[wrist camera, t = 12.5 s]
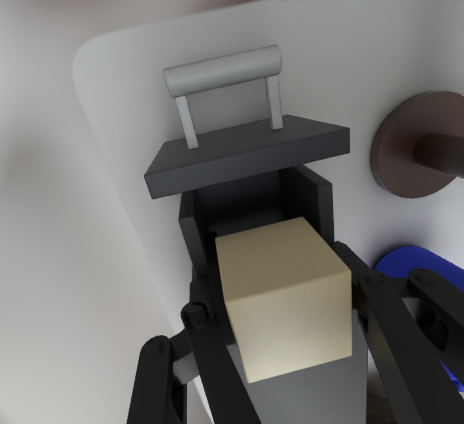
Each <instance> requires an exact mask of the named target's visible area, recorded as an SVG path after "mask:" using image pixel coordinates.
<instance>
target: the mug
mask: <svg viewBox="0 0 464 424" xmlns="http://www.w3.org/2000/svg"><path fill="white" fill-rule="evenodd" d="M416 268H424V269H429V270H432V271H434V272H436V273H438V274H440V275H441V276H442V277H444V278H445V279H446V280H448V281H449V282H450V283H452V284H453V285H454V286H456V287H457V288H458V289H460V290H461V291H462V292H464V270H463V269H461V268H460V267H458V266H456V265H454V264H452V263H451V262H449V261H447V260H445V259H443V258H441V257H440V256H438V255H436V254H434V253H432V252H431V251H429V250H426V249H424V248H420V247H416V246H405V247H401V248H398V249H395V250H393V251H391V252H390V253H388V254H387V255H385V256H384V257H383V258H382V259H381V260H380V261H379V263H378V264H377V266H376V268H375V270H377V271H381V272H383V273H384V274H386V275H387V276H388V277H392V278H402V277H407V274H408V272H409V271H410V270H412V269H416ZM440 362H441V361H440ZM441 363H442V362H441ZM442 365H443V367H444V368H445V370H446V372H447V373H448V375H449V376H450V378H451V380H452V381H453V383H454V385H455V386H456V388H457V389H458V391H459V392H464V386H463V385H462V384H461V383H460V382H459V381H458V380H457V378H456V377H455V376H454V375H453V374H452V373H451V372H450V371H449V370H448V369H447V367H446V366H445V365H444V364H443V363H442Z"/></svg>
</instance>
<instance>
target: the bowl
mask: <svg viewBox="0 0 464 424" xmlns="http://www.w3.org/2000/svg"><path fill="white" fill-rule="evenodd" d="M366 424H398V423H397V421H396V418H395V415H394V413H393V410H392V408H391V405H390V402H389V400H388V399H386V398H381V397H374V396H371V397H367V399H366Z"/></svg>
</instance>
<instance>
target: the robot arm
mask: <svg viewBox="0 0 464 424" xmlns="http://www.w3.org/2000/svg"><path fill="white" fill-rule="evenodd" d="M299 217H303V218H304V219H305V217H304V216H303V215H302V214H301V213H300V212H299V211H297V212H293V213H289V214H288V219H289V220H291V219H295V218H299ZM305 220H306V219H305ZM306 221H307V220H306ZM307 222H308V221H307ZM308 223H309V222H308ZM309 224H310V223H309ZM310 225H311V224H310ZM311 226H312V225H311ZM312 228H313V226H312ZM313 229H314V228H313ZM314 230H315V229H314ZM315 231H316V230H315ZM316 232H317V231H316ZM317 233H318V232H317ZM318 234H319V233H318ZM319 235H320V234H319ZM205 236H206V249H207V261H208V263H207V264H208V274H206V275H202V276H198V277H194V278H193V280H192V281H191V283H190V301H189V303H187V304H186V305H185V306H184V307H183V308H182V311H181V319H182V321H183V324H184V326H185V328H184V329H183V330H182V331H181V332H180V333H178V334H177V335H175V336H173V337H172V338H170V339H168V337H166V336H163V335H160V336H155V337H153V338H151V339H150V340H148V341H147V342H146V343H145V344H144V346H143V347H142V349H141V352H140V356H139V361H138V366H137V371H136V376H135V382H134V387H133V392H132V397H131V403H130V408H129V413H128V419H127V424H187V382H189V381H190V380H192V379H194V378H195V377H197V376H198V375H200V378H201V381H202V384H203V387H204V391H205V394H206V397H207V400H208V404H209V407H210V410H211V413H212V417H213V420H214V423H215V424H262V423H261V421H260V418H259V416H258V414H257V412H256V410H255V408H254V405H253V403H252V401H251V399H250V397H249V394H248V392H247V390H246V388H245V386H244V384H243V381H242V379H241V377H240V375H239V373H238V370H237V368H236V366H235V364H234V362H233V360H232V357H231V355H230V353H229V351H228V349H227V346H230V345H234V344H236V341H235V338H234V334H233V330H232V327H231V323H230V320H229V316H228V313H227V309H226V306H225V301H224V295H223V288H222V282H221V275H220V268H219V262H218V255H217V249H216V242H215V238H217V233H216V231H215V232H211V233H207V234H205ZM320 237H321V238H322V239H323V240H324V241H325V239H324V238H323V237H322V236H321V235H320ZM325 242H326V241H325ZM326 243H327V242H326ZM327 244H328V243H327ZM328 245H329V247H330V248H331V249H332V250H333V251H334V252H335V253H336V254H337V255H338V257H339V258H340V259H341V260H342V261H343V262H344V263H345V264H346V266H347V267H348V268H349V269H350V270H351V288H352V305H353V307H354V308H355V309H356V310H357V327H358V331H360V326H361V329H362V331H363V334H364V337H365V339H366V342H367V345H368V347H369V350H370V352H371V355H372V358H373V360H374V363H375V366H376V368H377V371H378V373H379V376H380V379H381V381H382V384H383V387H384V389H385V392H386V394H387V397H388V400H389V402H390V405H391V408H392V410H393V413H394V415H395V418H396V421H397V423H398V424H464V399H463V398H462V396H461V394H460V393H459V391H458V389H457V388H456V386H455V385H454V383H453V381H452V380H451V378H450V376H449V375H448V373H447V372H446V370H445V368H444V367H443V365H442V363H443V364H444V365H445V366H446V367H447V369H448V370H449V371H450V372H451V373H452V374H453V375H454V376H455V377H456V378H457V380H458V381H459V382H460V383H461V384H462V385H463V386H464V292H462V291H461V290H460V289H458V288H457V287H456V286H454V285H453V284H452V283H450V282H449V281H448V280H446V279H445V278H444V277H442V276H441V275H440V274H438V273H436V272H434V271H432V270H429V269H424V268H416V269H412V270H410V271H409V272H408V274H407V277H402V278H392V277H388V276H387V275H386V274H384V273H383V272H381V271H377V270H371V269H370V268H369V267H368V266H367V265H366V264H365V263H364V262H363V261H362V260H361V259H360V258H359V257H358V256H357V255H355V253H354V252H353V251H351V249H350V248H349V247H348V246H347V245H346V244H343V243H341V242H339V241H336V242H333V243H329V244H328ZM440 361H441V362H442V363H441V362H440Z"/></svg>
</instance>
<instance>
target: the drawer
mask: <svg viewBox="0 0 464 424" xmlns="http://www.w3.org/2000/svg"><path fill="white" fill-rule="evenodd" d="M281 67H282V59H281V53H280V49H279V47H278V46H277V45H271V46H267V47H262V48H258V49H253V50H248V51H244V52H239V53H235V54H230V55H226V56H221V57H216V58H212V59H207V60H203V61H198V62H194V63H189V64H185V65H180V66H175V67H171V68H166V69H164V77H165V81H166V84H167V88H168V91H169V94H170V96H171V98H175V97H176V98H175V101H176V104H177V108H178V112H179V115H180V119H181V123H182V126H183V130H184V134H185V137H186V138H183V139H178V140H174V141H169V142H165V143H164V144H163V146H162V147H161V149H160V151H159V152H158V154H157V155H156V157H155V159H154V160H153V162H152V164H151V165H150V167H149V168H148V170H147V172H146V173H145V175H144V178H145V181H146V184H147V186H148V189H149V192H150V195H151V198H152V199H157V198H161V197H166V196H170V195H174V194H178V193H182V195H181V203H180V211H179V219H178V221H179V224H180V227H181V230H182V233H183V237H184V240H185V243H186V246H187V249H188V252H189V255H190V258H191V261H192V264H193V267H194V270H195V273H196V276H197V277H198V276H202V275H206V274H208V264H207V263H208V261H207V249H206V236H205V234H207V233H211V232H215V231H216V233H217V237H222V236H226V235H230V234H234V233H238V232H242V231H246V230H250V229H254V228H258V227H262V226H266V225H270V224H274V223H279V222H283V221H287V220H289V219H288V214H289V213H293V212H297V211H299V212H300V213H301V214H302V215H303V216H304V217H305V219H306V220H307V221H308V222H309V223H310V224H311V225H312V226H313V228H314V229H315V230H316V231H317V232H318V233H319V234H320V235H321V236H322V237H323V238H324V239H325V241H326V242H327V243H328V244H329V243H333V242H334V218H333V193H332V183H331V182H329V181H328V180H326V179H325V178H323V177H321V176H320V175H318V174H317V173H315V172H314V171H312V170H311V169H309V168H307V167H306V166H304V165H303V164H305V163H309V162H314V161H318V160H322V159H326V158H330V157H335V156H339V155H343V154H347V153H350V128H348V127H343V126H339V125H334V124H329V123H324V122H320V121H315V120H310V119H306V118H301V117H296V116H292V115H283V116H282V113H281V104H280V95H279V86H278V78H277V75H278V74H280V72H281ZM260 78H265V79H264V80H265V87H266V95H267V102H268V110H269V117H270V119H265V120H261V121H257V122H252V123H248V124H244V125H239V126H235V127H231V128H226V129H222V130H217V131H213V132H209V133H204V134H200V135H196V132H195V128H194V124H193V120H192V117H191V113H190V109H189V105H188V101H187V97H186V95H188V94H193V93H197V92H202V91H206V90H211V89H215V88H220V87H224V86H229V85H233V84H238V83H242V82H247V81H251V80H256V79H260Z"/></svg>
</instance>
